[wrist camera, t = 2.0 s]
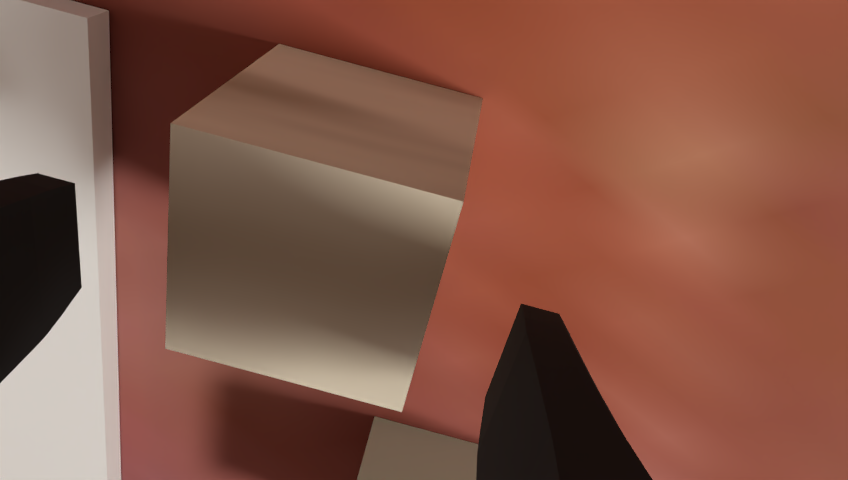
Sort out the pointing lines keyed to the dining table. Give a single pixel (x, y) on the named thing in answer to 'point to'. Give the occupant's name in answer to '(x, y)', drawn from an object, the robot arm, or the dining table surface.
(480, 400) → the dining table surface
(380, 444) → the sage block
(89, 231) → the white flat slab
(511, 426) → the robot arm
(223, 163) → the maple block
